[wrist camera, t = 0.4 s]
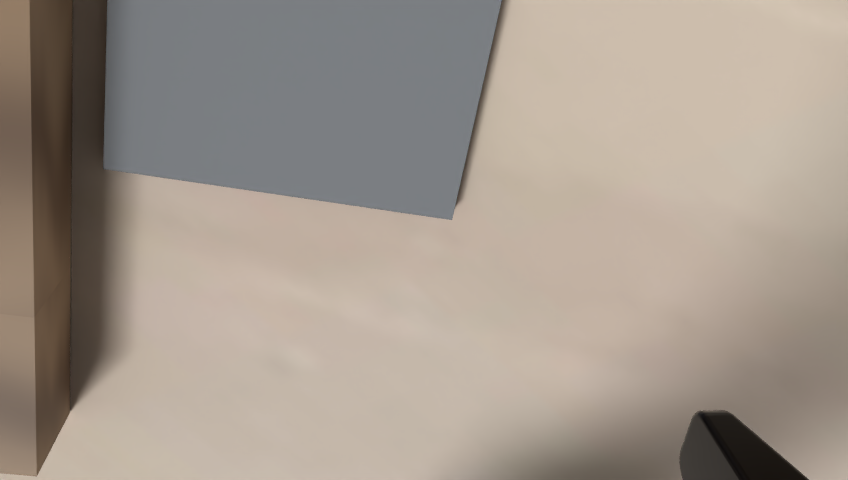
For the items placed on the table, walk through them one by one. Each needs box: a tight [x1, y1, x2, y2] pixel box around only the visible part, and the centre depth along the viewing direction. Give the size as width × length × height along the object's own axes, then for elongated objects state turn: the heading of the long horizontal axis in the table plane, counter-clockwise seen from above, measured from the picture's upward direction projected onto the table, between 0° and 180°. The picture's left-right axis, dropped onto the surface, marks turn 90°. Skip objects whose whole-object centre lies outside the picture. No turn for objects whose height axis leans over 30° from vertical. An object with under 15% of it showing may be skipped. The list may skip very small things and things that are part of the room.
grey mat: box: [103, 0, 502, 220], centre depth 21 cm, size 10×10×1 cm
